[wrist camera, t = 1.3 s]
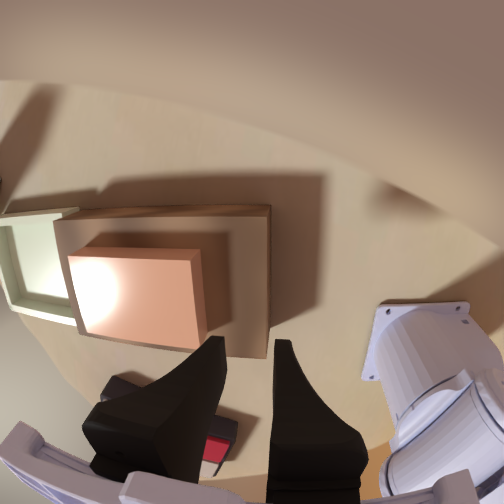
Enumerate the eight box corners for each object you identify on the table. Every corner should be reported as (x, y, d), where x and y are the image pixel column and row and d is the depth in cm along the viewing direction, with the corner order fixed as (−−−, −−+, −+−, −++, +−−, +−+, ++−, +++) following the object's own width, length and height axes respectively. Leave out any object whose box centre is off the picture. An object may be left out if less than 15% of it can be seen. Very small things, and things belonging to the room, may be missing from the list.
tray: (79, 206, 22) (61, 213, 20) (100, 315, 26) (86, 328, 23) (3, 214, 24) (-13, 219, 21) (23, 300, 27) (10, 309, 25)
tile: (200, 249, 18) (190, 260, 16) (207, 332, 20) (200, 349, 18) (84, 246, 19) (67, 255, 17) (100, 319, 21) (87, 332, 19)
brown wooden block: (270, 204, 21) (266, 216, 17) (269, 328, 24) (265, 359, 20) (82, 209, 22) (52, 221, 19) (101, 312, 26) (79, 334, 22)
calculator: (214, 482, 29) (103, 445, 28) (218, 457, 33) (114, 422, 32) (235, 445, 25) (96, 398, 25) (239, 415, 29) (112, 373, 29)
